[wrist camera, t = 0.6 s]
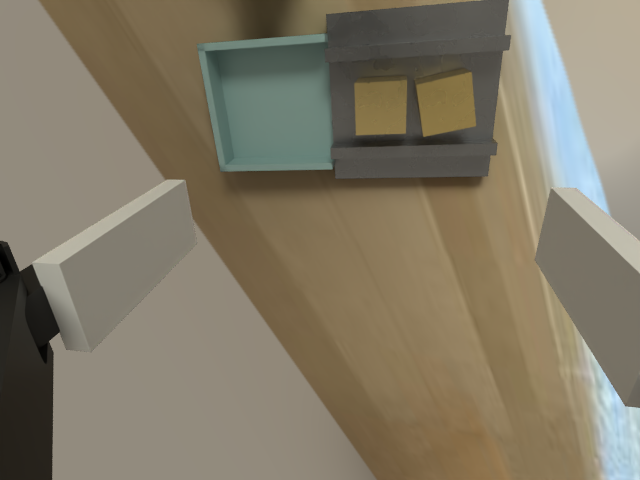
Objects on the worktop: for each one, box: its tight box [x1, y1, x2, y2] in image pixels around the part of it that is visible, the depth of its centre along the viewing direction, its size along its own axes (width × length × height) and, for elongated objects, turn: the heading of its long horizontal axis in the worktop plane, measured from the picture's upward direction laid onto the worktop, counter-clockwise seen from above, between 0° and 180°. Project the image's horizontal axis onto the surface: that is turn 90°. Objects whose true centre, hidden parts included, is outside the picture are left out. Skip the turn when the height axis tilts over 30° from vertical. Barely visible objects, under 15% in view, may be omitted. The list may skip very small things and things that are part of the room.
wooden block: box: [354, 75, 407, 135], centre depth 34 cm, size 4×4×4 cm
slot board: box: [324, 0, 511, 179], centre depth 35 cm, size 14×14×4 cm
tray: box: [197, 34, 335, 172], centre depth 37 cm, size 11×11×3 cm
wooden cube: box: [414, 68, 476, 137], centre depth 33 cm, size 4×4×4 cm
